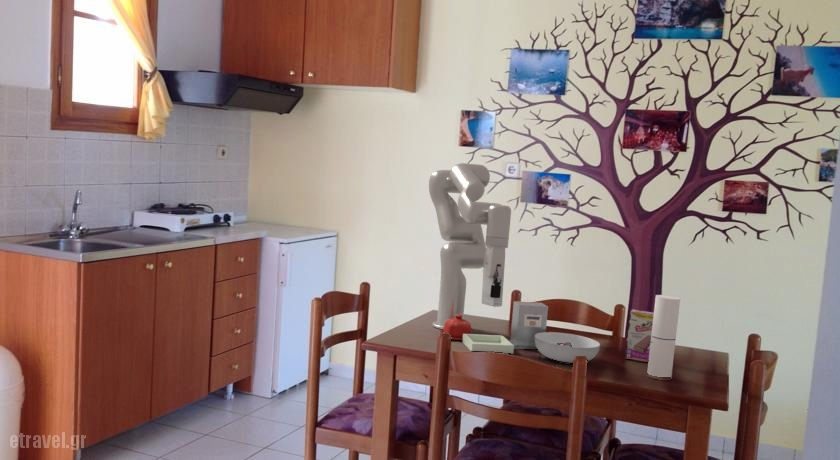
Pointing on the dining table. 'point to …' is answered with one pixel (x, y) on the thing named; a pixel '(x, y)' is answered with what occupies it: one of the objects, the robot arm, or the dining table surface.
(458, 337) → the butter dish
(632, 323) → the candy bar box
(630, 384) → the dining table surface
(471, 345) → the tray
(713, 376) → the dining table surface
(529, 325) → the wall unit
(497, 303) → the skincare box
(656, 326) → the cylindrical container
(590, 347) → the serving bowl
